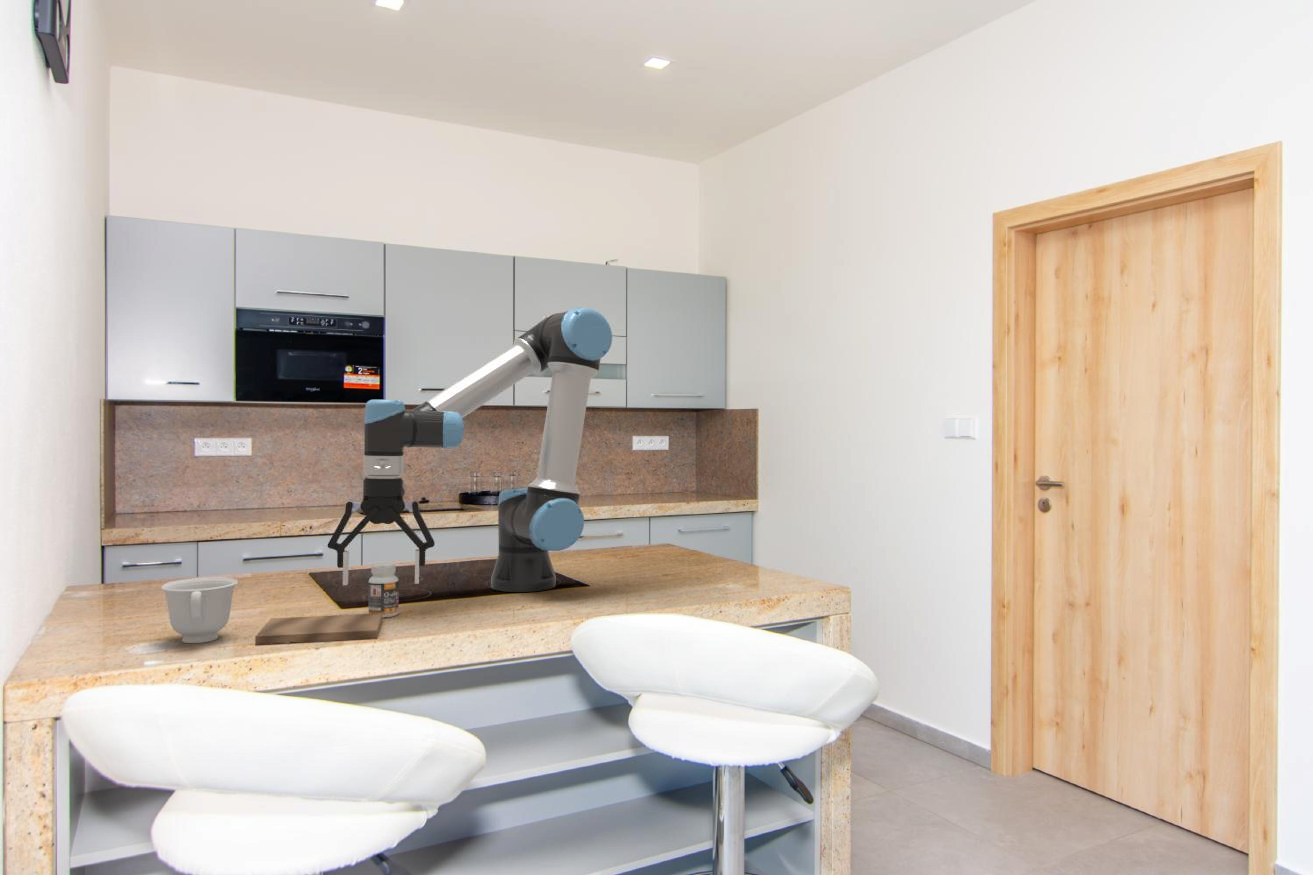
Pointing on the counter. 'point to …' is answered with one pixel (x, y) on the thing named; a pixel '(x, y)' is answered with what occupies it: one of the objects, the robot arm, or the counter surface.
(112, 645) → the counter surface
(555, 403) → the robot arm
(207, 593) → the teacup
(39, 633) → the counter surface
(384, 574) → the pill bottle
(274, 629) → the walnut board
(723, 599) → the counter surface
